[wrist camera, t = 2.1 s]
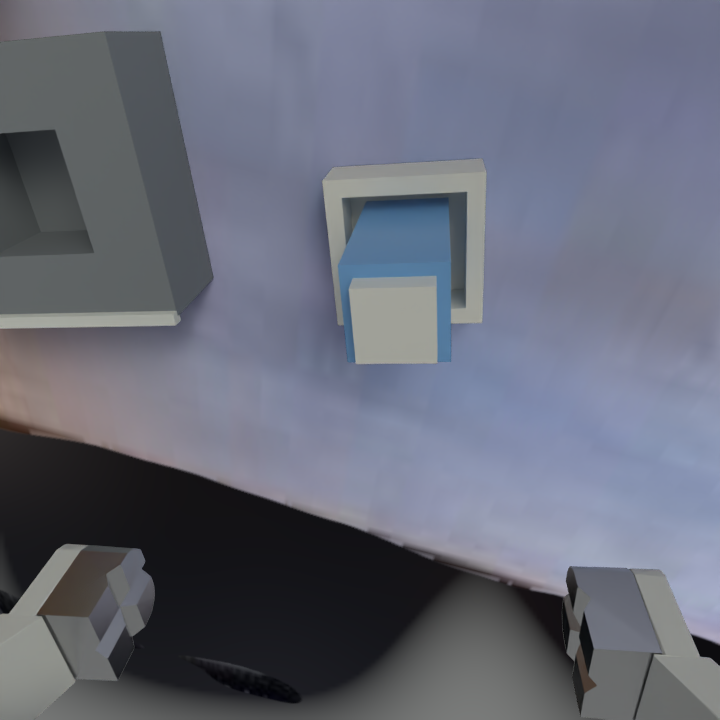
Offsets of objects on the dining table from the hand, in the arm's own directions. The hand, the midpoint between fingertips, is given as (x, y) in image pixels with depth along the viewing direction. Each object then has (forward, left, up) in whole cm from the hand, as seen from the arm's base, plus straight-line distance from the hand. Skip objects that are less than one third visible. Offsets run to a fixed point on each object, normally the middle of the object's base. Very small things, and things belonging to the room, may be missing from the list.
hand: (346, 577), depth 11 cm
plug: (0, 0, -21) cm, 21 cm away
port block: (+17, -4, -22) cm, 28 cm away
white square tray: (0, 0, -22) cm, 22 cm away
